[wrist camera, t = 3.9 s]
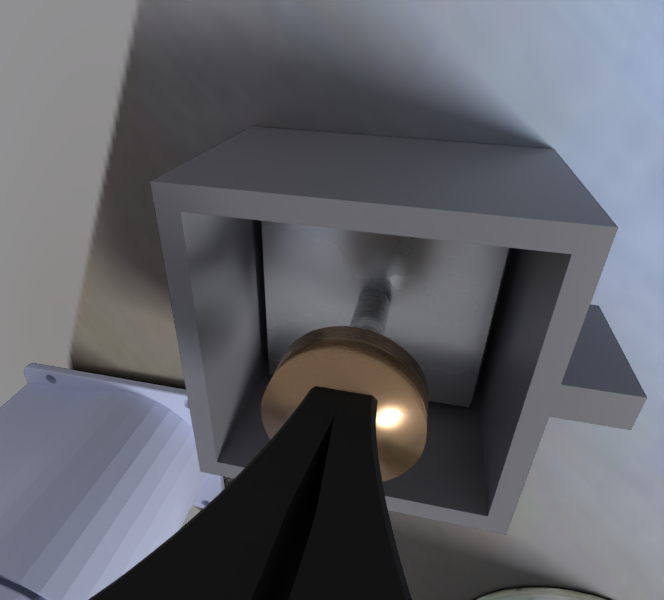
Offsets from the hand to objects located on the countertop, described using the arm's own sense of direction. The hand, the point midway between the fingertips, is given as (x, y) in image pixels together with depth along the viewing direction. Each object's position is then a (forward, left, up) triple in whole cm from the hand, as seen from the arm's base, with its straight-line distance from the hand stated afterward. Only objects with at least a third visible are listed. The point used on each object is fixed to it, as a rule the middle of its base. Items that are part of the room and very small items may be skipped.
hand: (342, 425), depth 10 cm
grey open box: (0, 0, -7) cm, 7 cm away
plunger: (0, 0, -6) cm, 6 cm away
